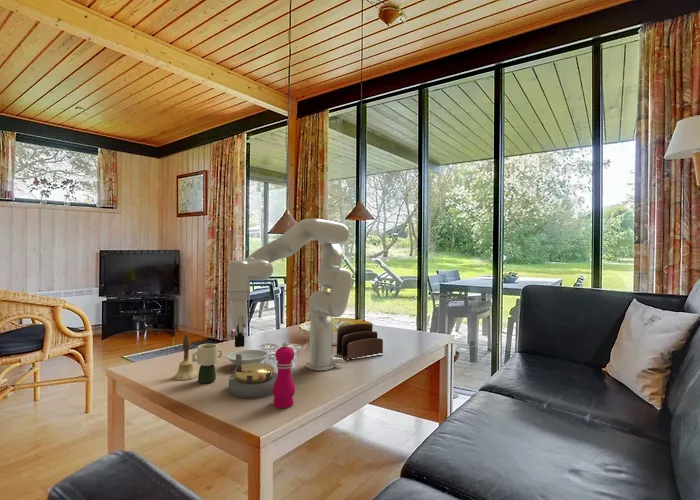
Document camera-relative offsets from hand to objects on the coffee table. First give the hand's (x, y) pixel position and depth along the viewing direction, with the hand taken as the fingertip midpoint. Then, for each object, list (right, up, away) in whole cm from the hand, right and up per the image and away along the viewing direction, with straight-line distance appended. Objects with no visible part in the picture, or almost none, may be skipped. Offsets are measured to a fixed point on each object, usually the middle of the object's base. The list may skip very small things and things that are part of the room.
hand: (239, 346), depth 140 cm
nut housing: (+6, -14, -3) cm, 16 cm away
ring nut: (+6, -10, -3) cm, 12 cm away
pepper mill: (+18, -15, -15) cm, 28 cm away
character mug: (-13, -14, +4) cm, 19 cm away
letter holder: (+44, -15, +43) cm, 63 cm away
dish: (-3, -14, +22) cm, 26 cm away
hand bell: (-22, -14, +8) cm, 27 cm away
